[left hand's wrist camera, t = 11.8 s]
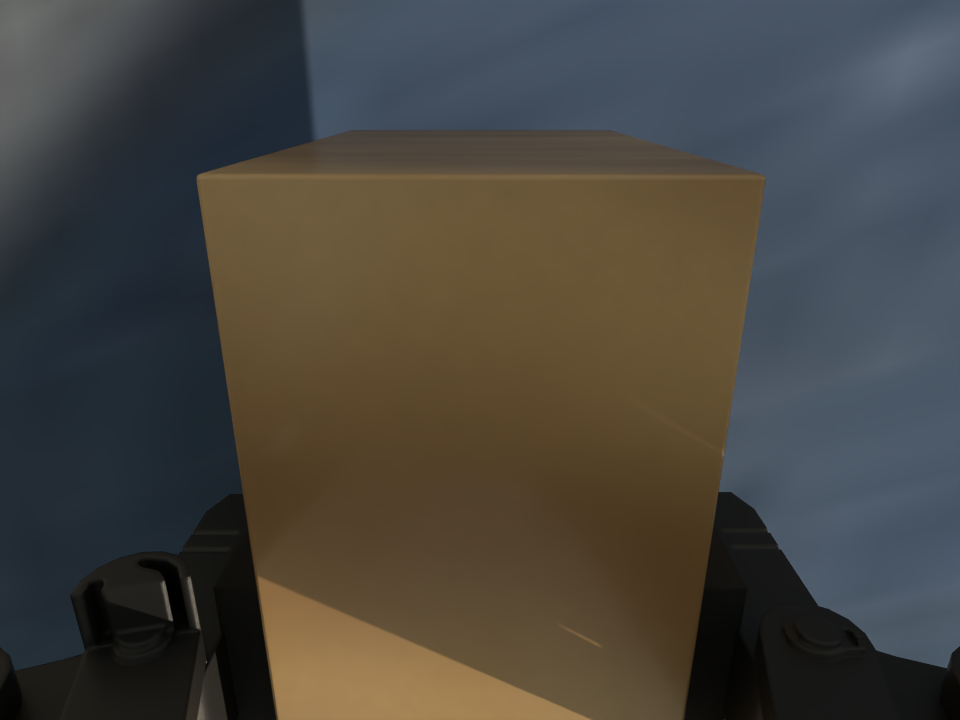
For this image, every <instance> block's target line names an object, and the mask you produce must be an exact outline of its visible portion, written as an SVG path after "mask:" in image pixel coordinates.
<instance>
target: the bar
mask: <svg viewBox="0 0 960 720" xmlns="http://www.w3.org/2000/svg"><path fill="white" fill-rule="evenodd" d="M197 186H198V193H199V199H200V206H201V213H202V220H203V226H204V233H205V240H206V247H207V254H208V260H209V267H210V274H211V281H212V287H213V294H214V301H215V308H216V314H217V321H218V328H219V335H220V341H221V348H222V355H223V362H224V369H225V375H226V382H227V389H228V396H229V402H230V409H231V416H232V423H233V429H234V436H235V443H236V450H237V456H238V463H239V470H240V477H241V483H242V490H243V497H244V504H245V511H246V517H247V524H248V531H249V538H250V544H251V551H252V558H253V565H254V571H255V578H256V585H257V592H258V598H259V605H260V612H261V619H262V626H263V632H264V639H265V646H266V653H267V659H268V666H269V673H270V680H271V686H272V693H273V700H274V707H275V713H276V720H684V717H685V710H686V703H687V697H688V690H689V684H690V677H691V670H692V664H693V657H694V650H695V644H696V637H697V631H698V624H699V617H700V611H701V604H702V597H703V591H704V584H705V578H706V571H707V564H708V558H709V551H710V544H711V538H712V531H713V525H714V518H715V511H716V505H717V498H718V491H719V485H720V478H721V472H722V465H723V458H724V452H725V445H726V438H727V432H728V425H729V419H730V412H731V405H732V399H733V392H734V385H735V379H736V372H737V366H738V359H739V352H740V346H741V339H742V332H743V326H744V319H745V313H746V306H747V299H748V293H749V286H750V279H751V273H752V266H753V260H754V253H755V246H756V240H757V233H758V226H759V220H760V213H761V207H762V200H763V193H764V187H765V176H764V175H761V174H759V173H755V172H752V171H748V170H745V169H741V168H738V167H734V166H731V165H728V164H724V163H721V162H717V161H714V160H710V159H707V158H703V157H700V156H696V155H693V154H689V153H686V152H683V151H679V150H676V149H672V148H669V147H665V146H662V145H658V144H655V143H651V142H648V141H645V140H641V139H638V138H634V137H631V136H627V135H624V134H620V133H617V132H613V131H610V130H351V131H347V132H344V133H340V134H337V135H333V136H330V137H326V138H323V139H319V140H316V141H312V142H309V143H305V144H302V145H299V146H295V147H292V148H288V149H285V150H281V151H278V152H274V153H271V154H267V155H264V156H260V157H257V158H253V159H250V160H246V161H243V162H239V163H236V164H232V165H229V166H226V167H222V168H219V169H215V170H212V171H208V172H205V173H201V174H199V175H198V176H197Z"/></svg>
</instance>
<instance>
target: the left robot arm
mask: <svg viewBox="0 0 960 720" xmlns="http://www.w3.org/2000/svg"><path fill="white" fill-rule="evenodd" d="M70 596H71V600H72V604H73V607H74V611H75V615H76V618H77V622H78V626H79V629H80V633H81V637H82V640H83V644H84V648H85V651H84V654H81V655H77V656H74V657H71V658H68V659H64V660H60V661H55V662H51V663H47V664H43V665H38V666H34V667H30V668H25V669H21V670H17V671H15V670H14V667H13V664H12V661H11V658H10V655H8V654H7V653H6V652H5V651H4V650H3V649H1V648H0V720H276V713H275V707H274V700H273V693H272V686H271V680H270V673H269V666H268V659H267V653H266V646H265V639H264V632H263V626H262V619H261V612H260V605H259V598H258V592H257V585H256V578H255V571H254V565H253V558H252V551H251V544H250V538H249V531H248V524H247V517H246V511H245V504H244V497H243V494H230V495H228V496H227V497H226V498H224V499H223V500H222V501H220V502H219V503H218V504H216V505H215V506H213V507H212V508H211V509H209V510H208V511H207V512H206V514H205V515H204V517H203V518H202V520H201V521H200V523H199V524H198V526H197V527H196V529H195V530H194V535H191V536H190V538H189V539H188V541H187V542H186V544H185V546H184V547H183V552H180V553H179V555H175V554H171V553H167V552H163V551H161V552H141V553H137V554H133V555H129V556H125V557H121V558H118V559H116V560H114V561H112V562H109V563H107V564H105V565H103V566H101V567H99V568H97V569H96V570H94V571H93V572H92V573H90V574H89V575H88V576H86V577H85V578H84V579H82V580H81V581H80V583H79V584H78V585H77V587H76V588H75V589H74V591H73V592H72V593H71V595H70ZM724 719H725V720H960V647H959V648H957V649H956V650H955V651H954V652H953V653H952V655H951V658H950V661H949V664H948V667H947V668H943V667H938V666H934V665H930V664H926V663H921V662H917V661H913V660H908V659H904V658H900V657H896V656H892V655H889V654H886V653H883V652H879V651H876V650H875V648H874V647H873V645H872V643H871V642H870V640H869V639H868V637H867V636H866V634H865V633H864V632H863V631H862V630H860V629H859V628H858V627H857V626H856V625H855V624H853V623H852V622H851V621H850V620H849V619H847V618H845V617H843V616H841V615H839V614H837V613H835V612H833V611H831V610H829V609H826V608H823V607H819V606H818V605H817V603H816V602H815V600H814V599H813V597H812V596H811V594H810V593H809V591H808V590H807V588H806V587H805V585H804V584H803V582H802V581H801V579H800V578H799V576H798V575H797V573H796V572H795V570H794V569H793V567H792V566H791V564H790V563H789V561H788V560H787V558H786V556H785V555H784V553H783V552H782V550H779V549H778V544H777V543H776V541H775V540H774V538H773V537H772V535H771V534H770V533H768V532H767V528H766V526H765V525H764V523H763V522H762V520H761V519H760V517H759V516H758V514H757V513H756V511H755V510H754V509H753V508H752V507H751V506H749V505H748V504H747V503H745V502H744V501H742V500H741V499H740V498H738V497H737V496H736V495H734V494H733V493H732V492H718V498H717V505H716V511H715V518H714V525H713V531H712V538H711V544H710V551H709V558H708V564H707V571H706V578H705V584H704V591H703V597H702V604H701V611H700V617H699V624H698V631H697V637H696V644H695V650H694V657H693V664H692V670H691V677H690V684H689V690H688V697H687V703H686V710H685V717H684V720H724Z"/></svg>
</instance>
